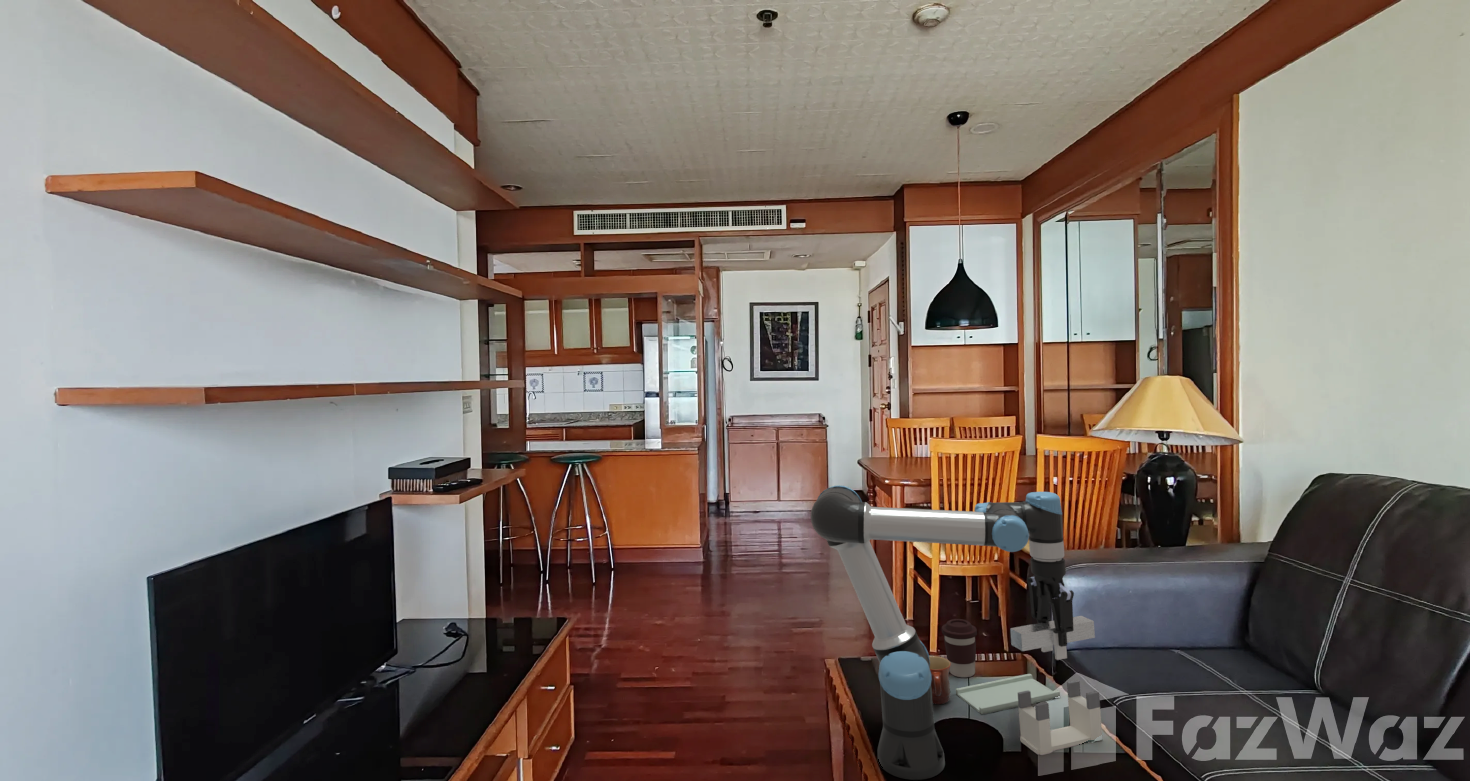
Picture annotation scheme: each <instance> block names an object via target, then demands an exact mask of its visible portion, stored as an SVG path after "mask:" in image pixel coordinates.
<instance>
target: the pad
mask: <svg viewBox="0 0 1470 781" xmlns="http://www.w3.org/2000/svg"><path fill="white" fill-rule="evenodd" d="M1023 691H1030V692H1031V705H1033V704H1039V703H1044V702H1047V701H1050V700H1051V699H1052V700H1054V699H1053V698H1055V697H1058V696H1060V697H1061V691H1059V690H1057V689H1056V690H1052V689H1050V688H1049V687H1047V686H1046V685H1044V684H1042V683H1041V682H1039V681H1037V680H1036V679H1034V677H1033V674H1031V673H1027V674H1020V675H1016V676H1011V677H1008V678H1007V677H1006V678H1003V679H1002V678H1001V679H997V680H993V681H987V682H982V683H978V684H973V685H972V684H971V685H968V686H963V687H959V688H958V687H957V688H955V695H956V696H958V698H960V699H961V700H963V701H964V702H965V703H966V704H967V705H969V706H970V707H971V708H973V709H974V710H975V711H977V713H979V714H980V715H987V714H992V713H995V712H996V713H997V712H1000V711H1007V710H1011V709H1015V708H1019V706H1018V692H1023ZM1052 700H1051V701H1052Z"/></svg>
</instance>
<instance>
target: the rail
mask: <svg viewBox="0 0 1470 781" xmlns="http://www.w3.org/2000/svg"><path fill="white" fill-rule="evenodd" d="M1073 629H1074V630H1073V631H1072V632H1067V644H1068V643H1075V642H1079V641H1084V640H1088V639H1089V640H1090V639H1095V638H1096V635H1095V634H1096V633H1095V621H1094V620H1093V619H1090V618H1087V617H1085V616H1083V615H1079V616H1078V615H1077V616H1073ZM1053 630H1056V629H1055V624H1054V620H1051V621H1049V622H1043V623H1038V622H1037V623H1033V624H1027V625H1021V626H1016V627H1011V628H1010V643H1011V646H1012V647H1015V649H1018V650H1020V651H1021V652H1025V651H1031V650H1037V649H1041V648H1043V647H1048V646H1053V647H1054V635H1053Z"/></svg>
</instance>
